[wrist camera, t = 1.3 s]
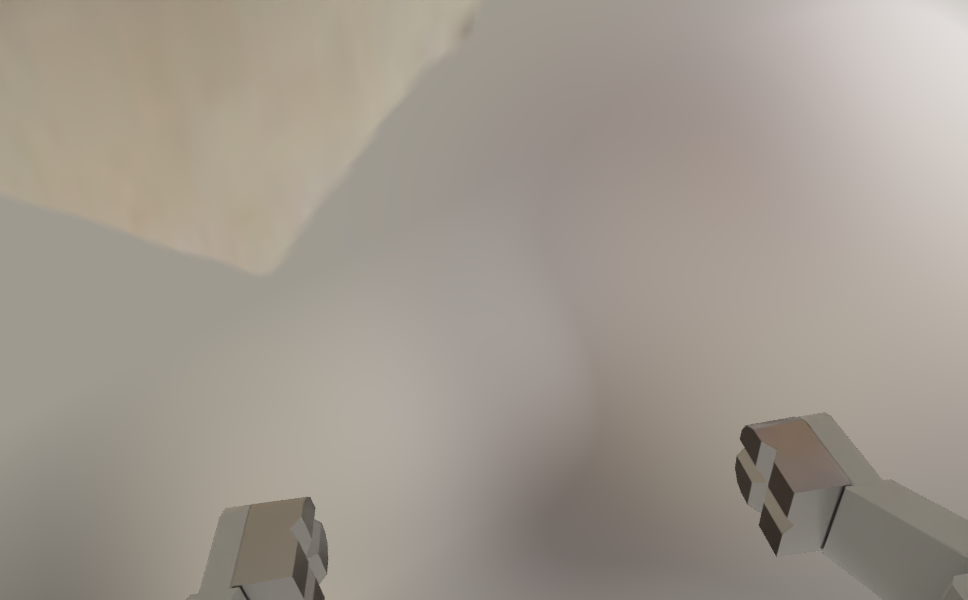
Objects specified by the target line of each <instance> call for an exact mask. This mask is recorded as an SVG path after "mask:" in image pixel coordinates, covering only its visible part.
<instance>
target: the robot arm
mask: <svg viewBox="0 0 968 600" xmlns="http://www.w3.org/2000/svg"><path fill="white" fill-rule="evenodd" d="M740 440H741V442H742V444H743V446H744V447H745V448H744V449H743V450H742V451H741V452H740V453H739V454H738V455H737V457H736V464H735V471H736V477H737V483H738V485H739V488H740V491H741V493H742V495H743V497H744V499H745V501H746V503H747V505H749V506H750V507H752V508H754V509H755V510H757V511H758V512H760V513H761V517H760V522H759V526H760V528H761V530H762V532H763V534H764V536H765V537H766V539H767V541H768V542H769V544H770V546H771V548H772V550H773V552H774V553H775V555H776V557H779V556H786V555H793V554H800V553H807V552H815V551H821V550H823V552H822V553H823V554H824V555H826V556H827V557H828V558H829V559H831V560H832V561H833V562H835V563H836V564H837V565H838V566H840V567H841V568H842V569H844V570H845V571H846V572H848V573H849V574H850V575H851V576H853V577H854V578H855V579H857V580H858V581H859V582H861V583H862V584H863V585H864V586H866V587H867V588H868V589H870V590H871V591H872V592H874V593H875V594H876V595H877V596H879V597H880V598H881V599H882V600H968V520H967V519H965V518H963V517H961V516H959V515H957V514H955V513H953V512H952V511H950V510H948V509H946V508H944V507H942V506H940V505H938V504H936V503H935V502H932V501H931V500H929V499H927V498H925V497H923V496H921V495H920V494H918V493H916V492H914V491H912V490H910V489H908V488H906V487H904V486H903V485H901V484H899V483H897V482H895V481H893V480H891V479H890V480H882V479H881V477H880V476H879V475H878V474H877V472H876V471H875V470H874V469H873V467H872V466H871V465H870V464H869V462H868V461H867V460H866V459H865V458H864V456H863V455H862V454H861V453H860V451H859V450H858V449H857V448H856V446H855V445H854V444H853V443H852V441H851V440H850V439H849V438H848V436H847V435H846V434H845V433H844V431H843V430H842V429H841V428H840V426H839V425H838V424H837V423H836V422H835V420H834V419H833V418H832V416H830V415H828V414H827V413H818V414H812V415H806V416H800V417H790V418H785V419H779V420H773V421H768V422H762V423H756V424H751V425H746V426H745V427H744V428H743V429H742V432H741V437H740ZM314 515H315V506H314V504H313V502H312V500H311V498H310V497H303V498H295V499H288V500H281V501H273V502H266V503H258V504H252V505H245V506H239V507H232V508H226V509H225V510H224V511H223V513H222V514H221V516H220V518H219V521H218V525H217V529H216V532H215V536H214V539H213V543H212V547H211V550H210V554H209V558H208V561H207V565H206V569H205V572H204V576H203V579H202V583H201V587H200V590H199V593H198V594H193V595H190V596H189V597H188V598H187V599H186V600H325V597H324V595H323V593H322V590H321V588H320V586H319V584H320V583H321V582H322V580H323V579H324V577H325V576H326V575H327V568H328V545H327V539H326V534H325V531H324V528H323V525H322V523H321V522H319V521H317V520H315V519H314Z"/></svg>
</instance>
